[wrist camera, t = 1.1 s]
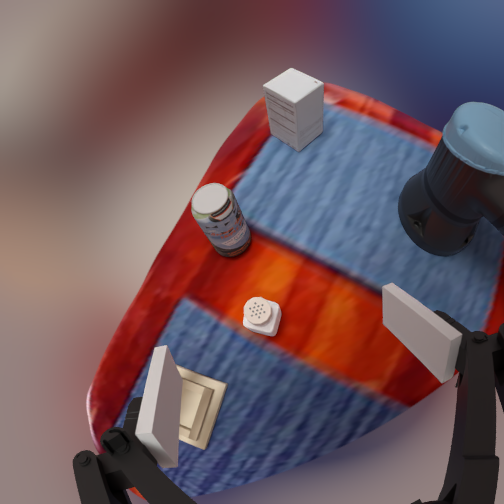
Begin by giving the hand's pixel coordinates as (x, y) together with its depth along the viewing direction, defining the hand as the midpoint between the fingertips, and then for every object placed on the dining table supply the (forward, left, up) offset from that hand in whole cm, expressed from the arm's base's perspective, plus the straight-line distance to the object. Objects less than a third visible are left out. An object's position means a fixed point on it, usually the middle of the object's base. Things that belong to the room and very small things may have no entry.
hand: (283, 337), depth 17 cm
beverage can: (+14, -14, -26) cm, 33 cm away
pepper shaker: (+5, -3, -26) cm, 27 cm away
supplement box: (+9, -38, -26) cm, 47 cm away
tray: (+13, +13, -26) cm, 32 cm away
